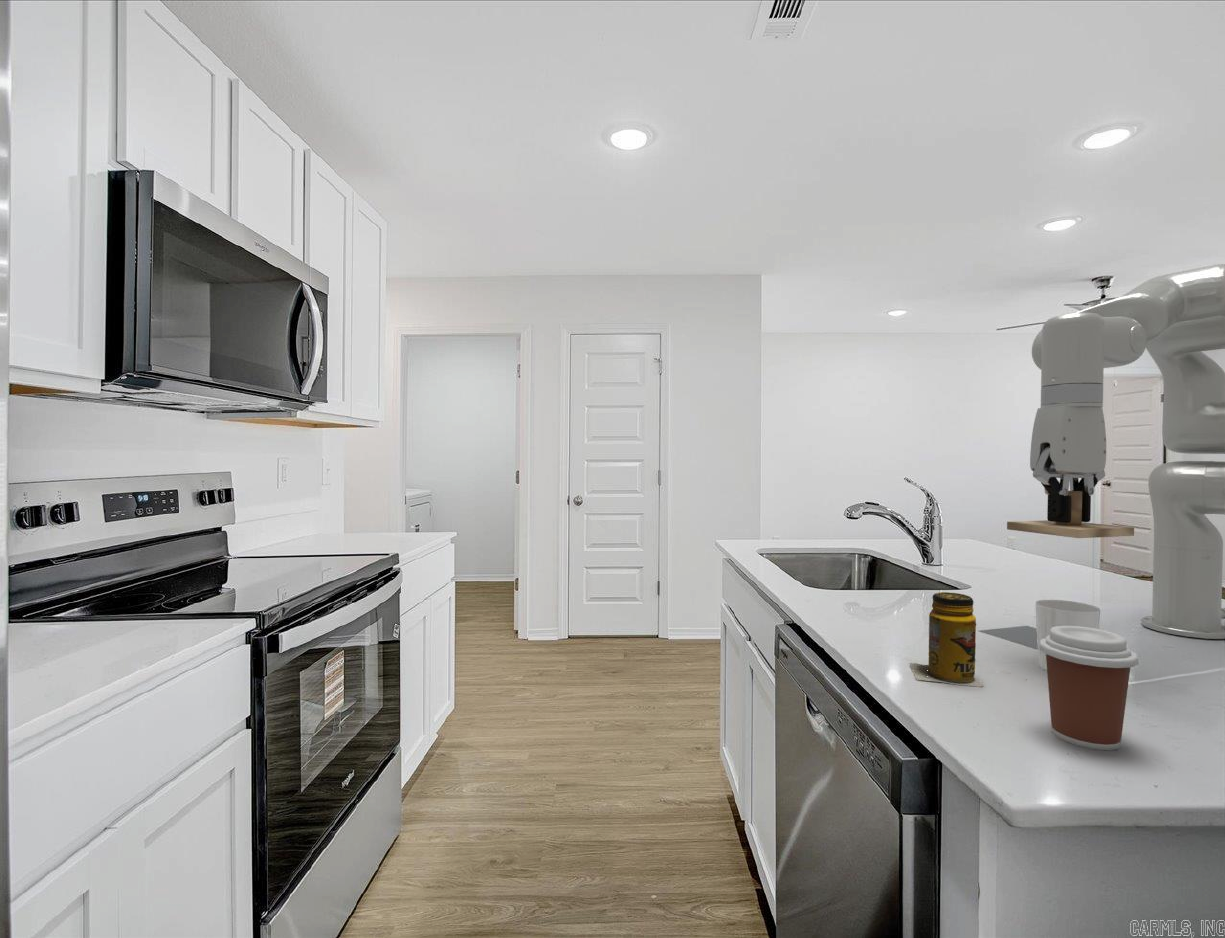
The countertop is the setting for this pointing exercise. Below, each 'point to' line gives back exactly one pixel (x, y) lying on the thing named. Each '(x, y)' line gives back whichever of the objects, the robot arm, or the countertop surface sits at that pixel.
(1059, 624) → the white cup
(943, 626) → the condiment
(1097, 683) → the coffee cup
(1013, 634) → the mat
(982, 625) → the countertop surface
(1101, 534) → the lid
